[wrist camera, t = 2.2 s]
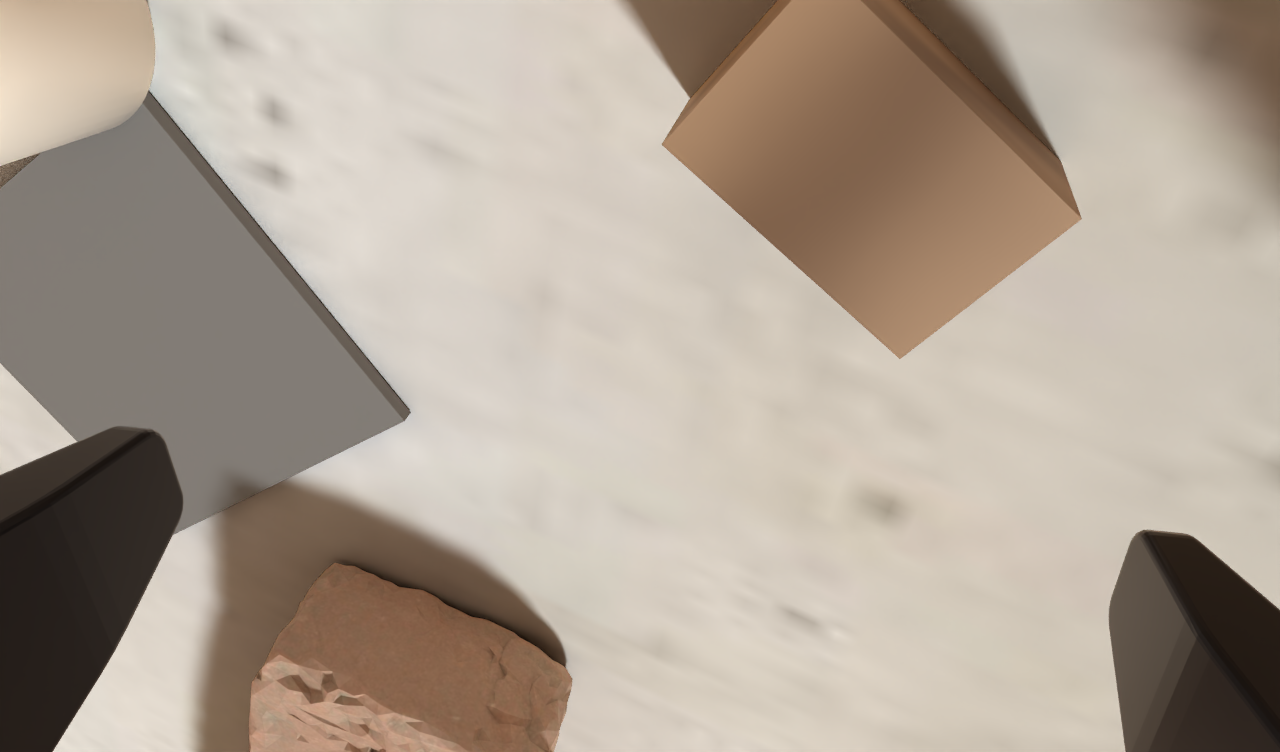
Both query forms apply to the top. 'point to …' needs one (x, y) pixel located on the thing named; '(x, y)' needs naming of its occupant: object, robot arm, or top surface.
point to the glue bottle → (70, 70)
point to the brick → (401, 677)
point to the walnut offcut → (874, 163)
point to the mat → (174, 317)
